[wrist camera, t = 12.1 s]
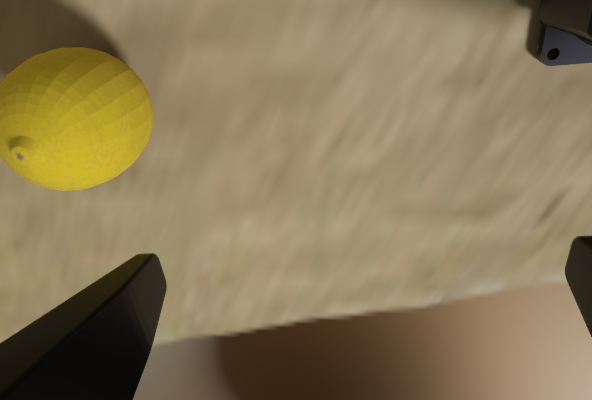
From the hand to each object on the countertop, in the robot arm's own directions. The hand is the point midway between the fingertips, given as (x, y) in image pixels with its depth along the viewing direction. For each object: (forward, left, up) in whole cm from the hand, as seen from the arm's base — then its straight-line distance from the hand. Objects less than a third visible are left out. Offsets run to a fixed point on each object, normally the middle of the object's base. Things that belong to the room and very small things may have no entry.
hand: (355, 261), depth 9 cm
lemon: (+11, -1, -13) cm, 17 cm away
